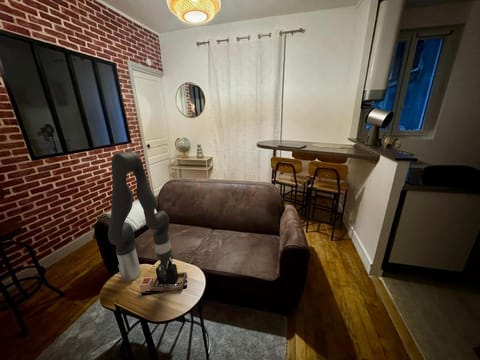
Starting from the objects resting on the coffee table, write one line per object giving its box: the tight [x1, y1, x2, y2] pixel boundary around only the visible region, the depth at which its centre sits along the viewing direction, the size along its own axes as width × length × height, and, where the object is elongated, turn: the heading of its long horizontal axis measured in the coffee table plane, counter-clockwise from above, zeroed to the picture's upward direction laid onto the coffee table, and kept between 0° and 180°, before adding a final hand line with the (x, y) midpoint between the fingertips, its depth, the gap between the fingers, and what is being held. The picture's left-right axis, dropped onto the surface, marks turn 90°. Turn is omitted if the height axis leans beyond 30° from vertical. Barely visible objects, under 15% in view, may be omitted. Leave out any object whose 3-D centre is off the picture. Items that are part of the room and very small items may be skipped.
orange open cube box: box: [139, 276, 155, 293], centre depth 103 cm, size 5×5×5 cm
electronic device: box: [155, 263, 179, 284], centre depth 106 cm, size 4×10×10 cm, turn 84°
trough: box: [150, 271, 188, 293], centre depth 106 cm, size 16×10×3 cm, turn 90°
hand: (168, 273), depth 105 cm, fingers open, 8 cm apart
